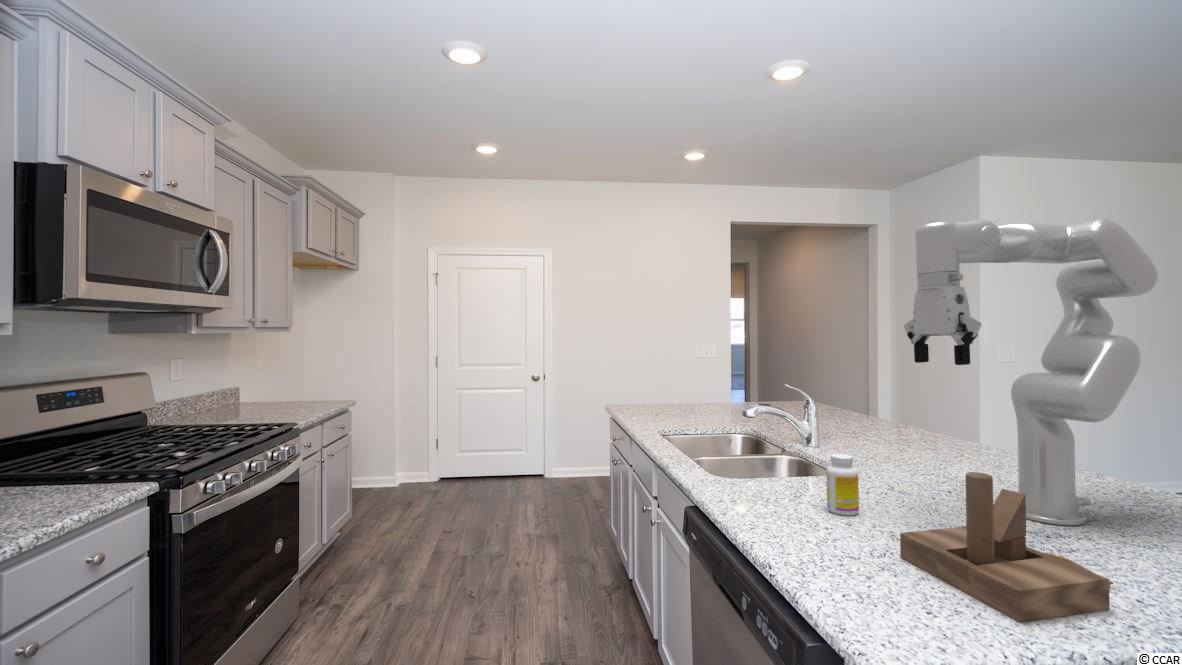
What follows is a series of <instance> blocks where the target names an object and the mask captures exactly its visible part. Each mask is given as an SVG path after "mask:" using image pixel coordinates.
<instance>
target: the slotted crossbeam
mask: <svg viewBox="0 0 1182 665" xmlns="http://www.w3.org/2000/svg"><path fill="white" fill-rule="evenodd" d="M899 540H900V541H899V542H900V543H899V544H900V545H899V547H900V550H899V551H900V559H902V560H904V561H906V562H908V563H910V564H911V565H913V566H915V567H917V568H919V569H921V570H922V571H924V572H927V573H928V574H929V575H932V576H933V577H936V578H937V579H939V580H941V581H943V582H945V583H947V584H949V585H951V586H952V587H953V588H956V589H958V590H960V591H961V592H963V593H964V594H967V595H969V596H970V597H973V598H974V599H975V600H978V601H980V602H981V603H984V604H985V605H987V606H989V607H991V608H993V609H995V610H997V611H998V612H1000V613H1002V614H1003V615H1005V616H1007V617H1009V618H1011V619H1013V620H1015V621H1017V622H1018V623H1026V622H1032V621H1039V620H1040V621H1041V620H1048V619H1053V618H1054V619H1055V618H1059V617H1060V618H1061V617H1068V616H1073V615H1074V616H1075V615H1080V614H1086V613H1087V614H1089V613H1094V612H1102V611H1108V610H1110V608H1111V607H1110V588H1109V581H1110V578H1107V577H1105V576H1102V575H1099V574H1097V573H1095V572H1093V571H1091V570H1090V571H1091V572H1090V571H1087V570H1085V569H1082V568H1080V567H1077V566H1075V565H1072V564H1070V563H1067V562H1065V561H1062V560H1060V559H1057V558H1055V557H1052V556H1049V555H1047V554H1044V553H1045V552H1042V551H1039V550H1037V549H1033V548H1032V547H1029V546H1027V545H1026V560H1018V561H1009V562H1001V563H992V564H984V565H975V564H973V563H971V562H969V561H967V529H966V526H957V527H946V528H938V529H937V528H936V529H928V530H925V529H924V530H919V531H918V530H917V531H908V532H900V533H899Z"/></svg>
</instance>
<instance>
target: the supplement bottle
mask: <svg viewBox="0 0 1182 665" xmlns="http://www.w3.org/2000/svg"><path fill="white" fill-rule="evenodd" d="M830 462H831V465H828V466H827V468H826V472H825V473H826V504H827V505H826V506H827V510H828V511H829V512H831V513H833V514H836V515H840V516H844V517H845V516H847V517H848V516H849V517H850V516H855V515H857V514H859V512H860V499H859V498H860V496H859V495H860V494H859V493H860V492H859V471H858V469H857V468H856V467H854V466H853V463H854V457H853V455H851V454H844V453H833V454H831V455H830Z"/></svg>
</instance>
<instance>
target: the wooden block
mask: <svg viewBox="0 0 1182 665" xmlns="http://www.w3.org/2000/svg"><path fill="white" fill-rule="evenodd" d="M965 511H966V512H965V516H966V518H965V521H966V529H967V561H969V562H971V563H973V564H975V565H984V564H992V563H1001V562H1009V561H1018V560H1026V546H1027V544H1026V543H1027V540H1026V539H1027V538H1026V536H1027V518H1026V497H1025V494H1022V493H1019V491H1018V492H1017V491H1012V490H1010V489H1006V488H1005V489H1004V488H1002V489H1001V490H1000V492H999V494H998V496H997V497H996V499H995V501H994V480H993V476H992V475H991V474H988V473H983V472H977V471H970V472H966V473H965Z"/></svg>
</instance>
